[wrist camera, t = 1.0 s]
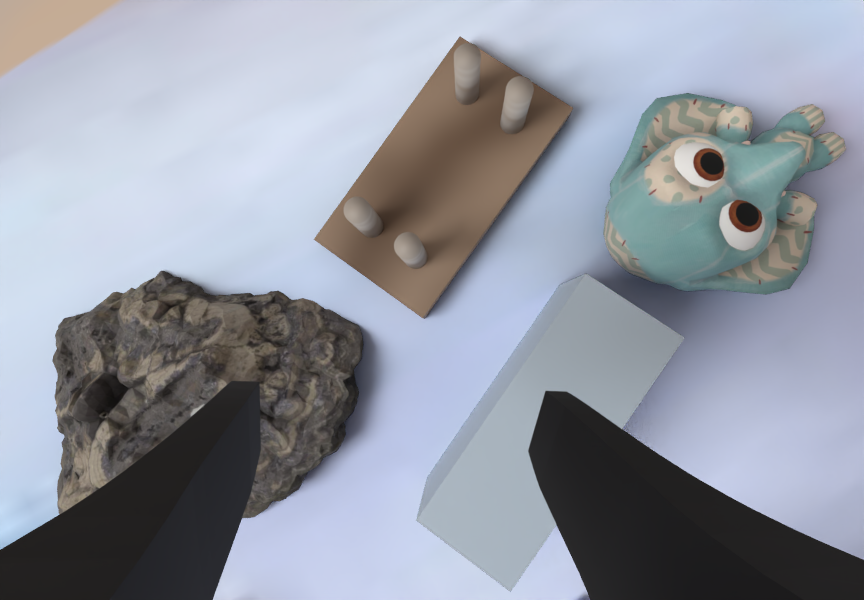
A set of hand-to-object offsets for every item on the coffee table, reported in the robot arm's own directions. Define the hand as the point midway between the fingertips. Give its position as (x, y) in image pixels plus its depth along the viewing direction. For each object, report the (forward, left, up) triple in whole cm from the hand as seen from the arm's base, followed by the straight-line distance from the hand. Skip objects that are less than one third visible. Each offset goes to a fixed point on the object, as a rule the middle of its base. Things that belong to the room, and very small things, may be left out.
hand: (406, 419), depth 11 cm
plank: (-5, -1, -12) cm, 13 cm away
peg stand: (+6, -8, -11) cm, 15 cm away
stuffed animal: (-6, -15, -12) cm, 20 cm away
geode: (+10, +9, -12) cm, 18 cm away
